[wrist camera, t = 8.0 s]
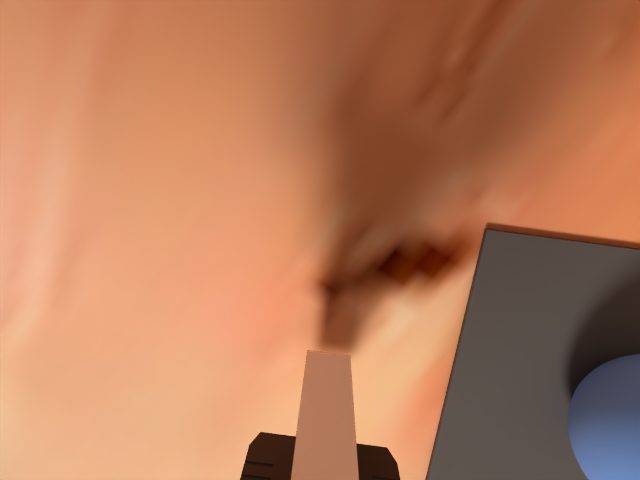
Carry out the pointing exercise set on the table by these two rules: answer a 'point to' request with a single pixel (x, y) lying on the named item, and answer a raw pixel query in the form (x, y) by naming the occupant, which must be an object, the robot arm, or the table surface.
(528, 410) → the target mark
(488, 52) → the table surface
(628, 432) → the ball
